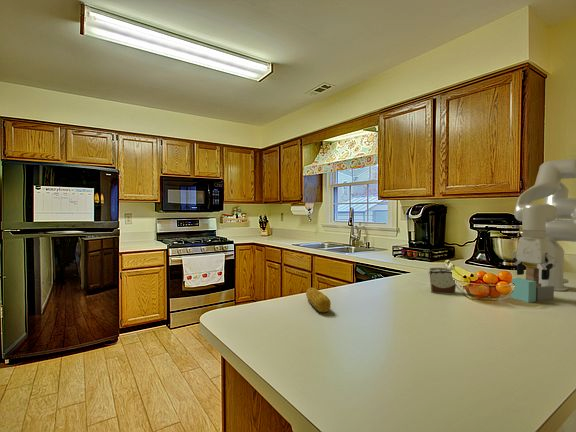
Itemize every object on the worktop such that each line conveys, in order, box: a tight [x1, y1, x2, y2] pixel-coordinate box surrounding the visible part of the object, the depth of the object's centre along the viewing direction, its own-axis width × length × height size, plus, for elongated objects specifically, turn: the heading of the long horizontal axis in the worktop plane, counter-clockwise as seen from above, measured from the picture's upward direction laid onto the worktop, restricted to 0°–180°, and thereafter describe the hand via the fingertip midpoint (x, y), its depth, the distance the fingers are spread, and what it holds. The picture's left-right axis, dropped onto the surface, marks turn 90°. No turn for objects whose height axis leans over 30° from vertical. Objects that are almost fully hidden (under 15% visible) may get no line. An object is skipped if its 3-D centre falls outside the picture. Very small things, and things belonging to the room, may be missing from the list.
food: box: [305, 287, 331, 313], centre depth 117 cm, size 21×6×6 cm, turn 12°
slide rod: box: [525, 266, 539, 287], centre depth 129 cm, size 7×3×9 cm, turn 108°
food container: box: [427, 267, 457, 295], centre depth 139 cm, size 12×6×10 cm, turn 84°
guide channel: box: [536, 283, 555, 302], centre depth 131 cm, size 9×6×5 cm, turn 108°
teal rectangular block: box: [510, 277, 537, 303], centre depth 128 cm, size 4×7×8 cm, turn 18°
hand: (532, 277), depth 129 cm, fingers open, 9 cm apart
